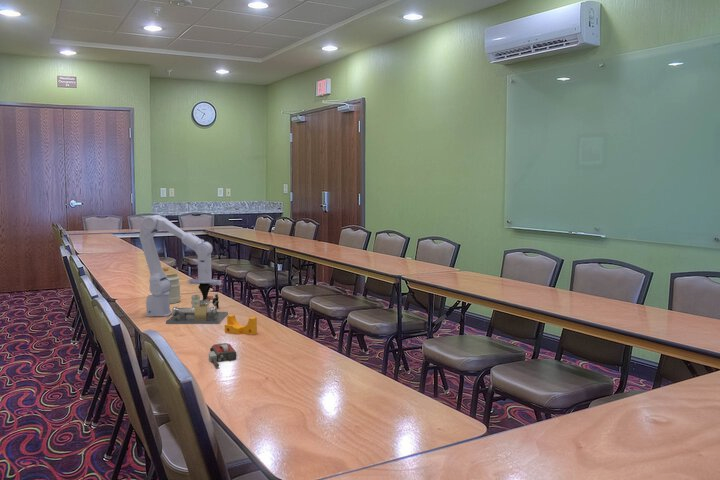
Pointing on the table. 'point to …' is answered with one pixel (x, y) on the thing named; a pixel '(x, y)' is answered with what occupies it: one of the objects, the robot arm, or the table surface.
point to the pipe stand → (196, 315)
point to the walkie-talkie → (222, 353)
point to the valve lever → (206, 300)
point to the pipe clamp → (240, 326)
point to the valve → (197, 301)
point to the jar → (173, 284)
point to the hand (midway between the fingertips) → (205, 300)
